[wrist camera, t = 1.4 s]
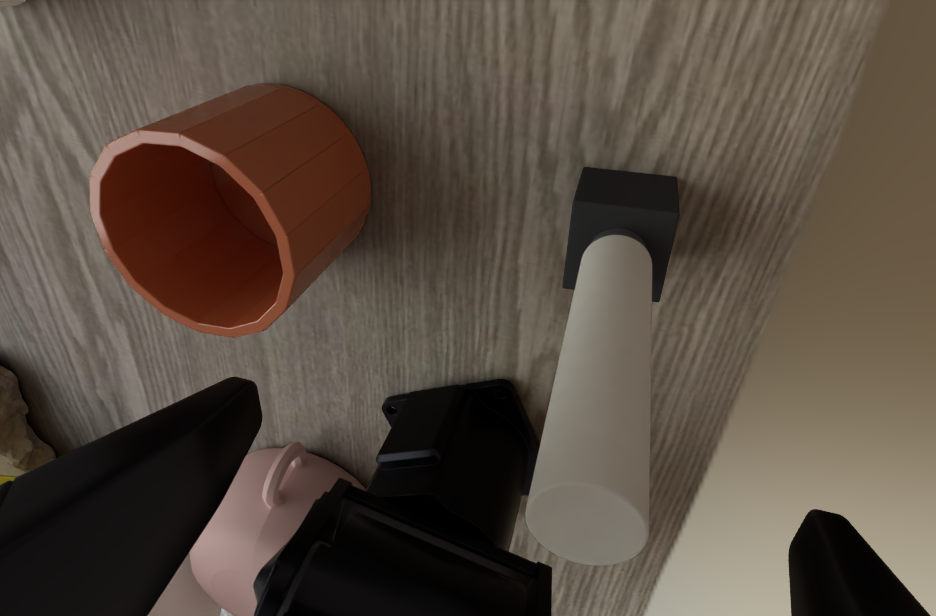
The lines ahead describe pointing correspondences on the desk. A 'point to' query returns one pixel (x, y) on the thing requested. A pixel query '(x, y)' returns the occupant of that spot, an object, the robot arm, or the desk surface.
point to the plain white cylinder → (599, 413)
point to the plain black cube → (624, 217)
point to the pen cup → (231, 206)
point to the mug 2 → (259, 521)
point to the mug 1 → (185, 596)
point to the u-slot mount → (10, 2)
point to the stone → (18, 432)
